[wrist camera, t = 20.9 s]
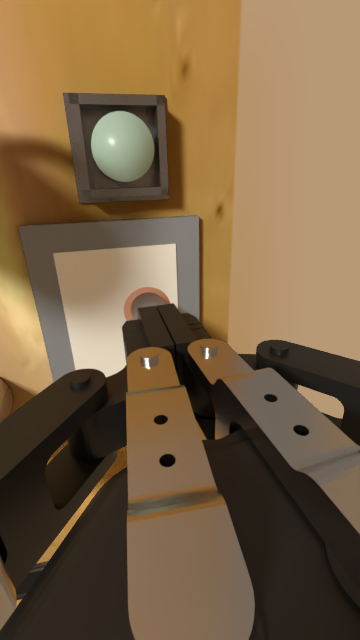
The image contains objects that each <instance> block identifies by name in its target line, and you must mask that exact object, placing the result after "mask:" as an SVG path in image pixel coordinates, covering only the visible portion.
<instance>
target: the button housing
mask: <svg viewBox="0 0 360 640" xmlns="http://www.w3.org/2000/svg"><path fill="white" fill-rule="evenodd" d="M63 97H64V104H65V111H66V117H67V124H68V131H69V137H70V144H71V151H72V157H73V164H74V171H75V177H76V184H77V191H78V197H79V203H96V202H118V201H139V200H161V199H169V187H168V163H167V138H166V114H165V95H136V94H93V93H63ZM115 111H125V112H129V113H131V114H134V115H135V116H137V117H138V118H140V119H141V120H142V121H143V122H144V123H145V124H146V126H147V127H148V129H149V131H150V133H151V135H152V138H153V142H154V157H153V161H152V164H151V166H150V168H149V169H148V171H147V172H146V173H145V174H144V175H143V176H142V177H140V178H139V179H137V180H134V181H130V182H120V181H116V180H113V179H111V178H109V177H107V176H106V175H105V174H104V173H103V172H102V171H101V170H100V169H99V168H98V166H97V165H96V163H95V161H94V158H93V155H92V149H91V138H92V133H93V130H94V128H95V126H96V124H97V123H98V121H99V120H100V119H101V118H102V117H103V116H105V115H107V114H108V113H111V112H115Z"/></svg>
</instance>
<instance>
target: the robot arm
mask: <svg viewBox="0 0 360 640" xmlns="http://www.w3.org/2000/svg"><path fill="white" fill-rule="evenodd" d="M137 316H138V319H137V320H129V321H126V322H125V323H124V325H123V326H122V333H123V342H124V350H125V358H126V366H125V367H124V368H123V369H122V370H121V371H119V372H118V373H116V374H114V375H111V376H108V377H105V375H104V373H103V372H101V371H99V370H96V369H89V368H88V369H79V370H75V371H72V372H69V373H67V374H65V375H63V376H62V377H60V378H59V379H58V380H56V381H55V382H54V383H52V384H51V385H50V386H48V387H47V388H46V389H44V390H43V391H42V392H40V393H39V394H38V395H36V396H35V397H34V398H32V399H31V400H30V401H28V402H27V403H26V404H24V405H23V406H22V407H20V408H19V409H18V410H16V411H15V412H14V413H12V414H11V415H10V416H9V414H10V411H11V408H12V405H13V397H12V393H11V391H10V389H9V387H8V386H7V385H6V383H5V382H4V381H3V380H1V379H0V640H360V361H356V360H353V359H349V358H345V357H342V356H338V355H335V354H330V353H327V352H324V351H320V350H316V349H312V348H309V347H305V346H301V345H298V344H294V343H290V342H287V341H282V340H268V341H264V342H261V343H260V344H258V346H257V350H256V355H255V354H237V353H236V352H235V351H234V350H233V349H232V348H231V347H230V346H229V345H228V344H227V343H225V342H223V341H221V340H217V339H212V338H211V336H210V335H209V334H208V332H207V331H206V330H205V328H204V327H203V326H202V324H200V322H199V320H198V319H197V318H196V317H195V316H193V315H191V314H189V313H183V314H180V312H179V311H178V309H177V307H176V306H175V304H174V303H172V304H164V305H156V306H148V307H139V308H137ZM298 385H301V386H304V387H307V388H310V389H313V390H316V391H318V392H321V393H324V394H327V395H330V396H333V397H335V398H337V399H338V400H339V401H341V403H342V404H343V406H344V415H343V418H342V419H339V418H335V417H332V416H330V415H327V414H324V413H322V412H320V411H319V410H318V409H317V408H316V407H314V406H313V405H312V404H311V403H310V402H309V401H308V400H307V399H306V398H305V397H303V396H302V395H301V394H300V393H299V392H298V391H297V388H298ZM66 440H68V444H67V445H66V446H65V447H64V448H63V449H62V450H61V451H60V452H59V453H58V454H57V455H56V456H55V457H54V458H53V459H52V460H51V461H50V462H49V463H48V465H47V462H48V460H49V458H50V457H51V455H52V454H53V453H54V452H55V451H56V450H57V449H58V448H59V447H60V446H61V445H62V444H63V443H64V442H65V441H66ZM126 445H127V467H126V468H125V469H123V470H121V471H120V472H119V473H117V474H116V475H114V476H113V477H112V478H111V479H110V480H109V481H108V482H106V483H105V484H104V485H103V487H102V488H101V489H100V490H99V491H98V492H97V494H96V495H95V496H94V497H93V499H92V500H91V502H90V503H89V505H88V506H87V507H86V509H85V510H84V512H83V513H82V515H81V516H80V517H79V519H78V520H77V522H76V523H75V525H74V526H73V527H72V529H71V530H70V532H69V533H68V535H67V536H66V537H65V539H64V540H63V542H62V543H61V545H60V546H59V547H58V549H57V550H56V552H55V553H54V555H53V556H52V557H51V559H50V560H49V562H48V563H47V565H46V566H45V567H44V569H43V570H42V572H41V573H40V575H39V576H38V577H37V579H36V580H35V582H34V583H33V584H32V586H31V587H30V589H29V590H28V592H27V593H26V594H25V596H24V597H23V599H22V600H21V602H20V603H19V604H18V606H17V607H16V599H17V597H16V589H17V588H18V586H19V585H20V584H21V582H22V581H23V580H24V579H25V577H26V576H27V575H28V573H29V572H30V571H31V569H32V568H33V567H34V566H35V564H36V563H37V562H38V560H39V559H40V558H41V556H42V555H43V554H44V552H45V551H46V550H47V549H48V547H49V546H50V545H51V543H52V542H53V541H54V539H55V538H56V537H57V536H58V534H59V533H60V532H61V530H62V529H63V528H64V526H65V525H66V524H67V522H68V521H69V520H70V519H71V517H72V516H73V515H74V513H75V512H76V511H77V509H78V508H79V507H80V506H81V504H82V503H83V502H84V500H85V499H86V498H87V496H88V495H89V494H90V493H91V491H92V490H93V489H94V487H95V486H96V485H97V483H98V482H99V481H100V479H101V478H102V477H103V476H104V474H105V473H106V472H107V470H108V469H109V468H110V466H111V465H112V464H113V462H114V461H115V459H116V457H117V450H118V449H120V448H122V447H124V446H126ZM46 465H47V466H46ZM15 608H16V609H15Z"/></svg>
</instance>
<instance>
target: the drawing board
mask: <svg viewBox="0 0 360 640" xmlns="http://www.w3.org/2000/svg"><path fill="white" fill-rule="evenodd" d="M18 230H19V234H20V238H21V243H22V247H23V251H24V256H25V260H26V264H27V269H28V273H29V277H30V282H31V286H32V290H33V295H34V299H35V303H36V308H37V312H38V316H39V321H40V325H41V329H42V334H43V338H44V342H45V347H46V351H47V355H48V359H49V364H50V368H51V372H52V377H53V381H54V382H55V381H56V380H58V379H59V378H60V377H62V376H63V375H65V374H67V373H69V372H72V371H75V370H79V369H88V368H89V369H96V370H99V371H101V372H103V373H104V375H105V377H108V376H111V375H114V374H116V373H118V372H119V371H121V370H122V369H123V368H124V367H125V366H126V358H125V350H124V342H123V333H122V326H123V325H124V323H125V322H126V321H129V320H133V318H132V314H131V304H132V302H133V300H134V299H135V298H136V297H137V296H138V295H140V294H142V293H146V292H152V293H155V294H157V295H159V296H160V297H161V298H162V299H163V301H164V303H165V304H172V303H174V304H175V306H176V307H177V309H178V311H179V312H180V314H183V313H189V314H191V315H193V316H195V317H196V318H197V319H198V320H199V216H197V215H195V216H178V217H161V218H144V219H126V220H109V221H92V222H75V223H58V224H41V225H23V226H18Z"/></svg>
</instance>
